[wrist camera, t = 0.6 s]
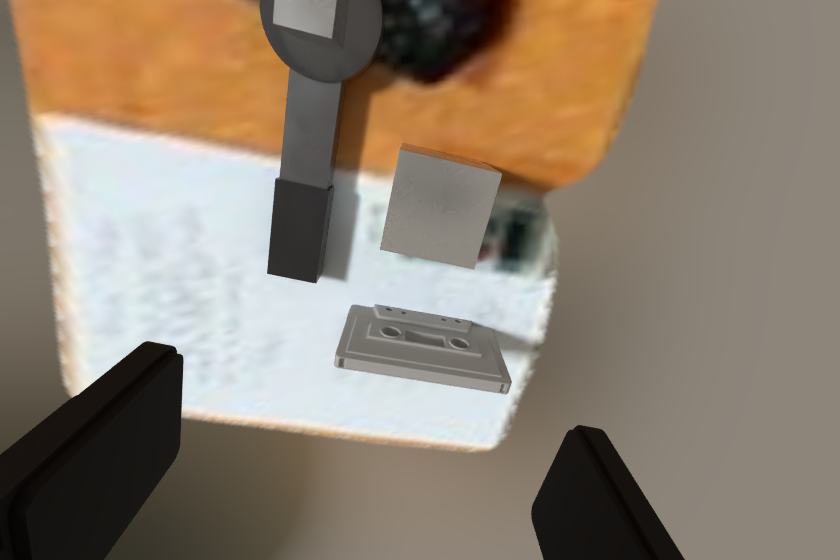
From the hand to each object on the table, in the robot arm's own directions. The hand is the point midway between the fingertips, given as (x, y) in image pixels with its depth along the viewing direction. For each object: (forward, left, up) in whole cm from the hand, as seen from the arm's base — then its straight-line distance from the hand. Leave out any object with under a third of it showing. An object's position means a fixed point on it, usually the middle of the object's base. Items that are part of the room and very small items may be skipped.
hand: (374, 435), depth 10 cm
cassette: (+8, +3, -22) cm, 24 cm away
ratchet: (-5, -7, -22) cm, 24 cm away
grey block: (-2, +2, -22) cm, 22 cm away
